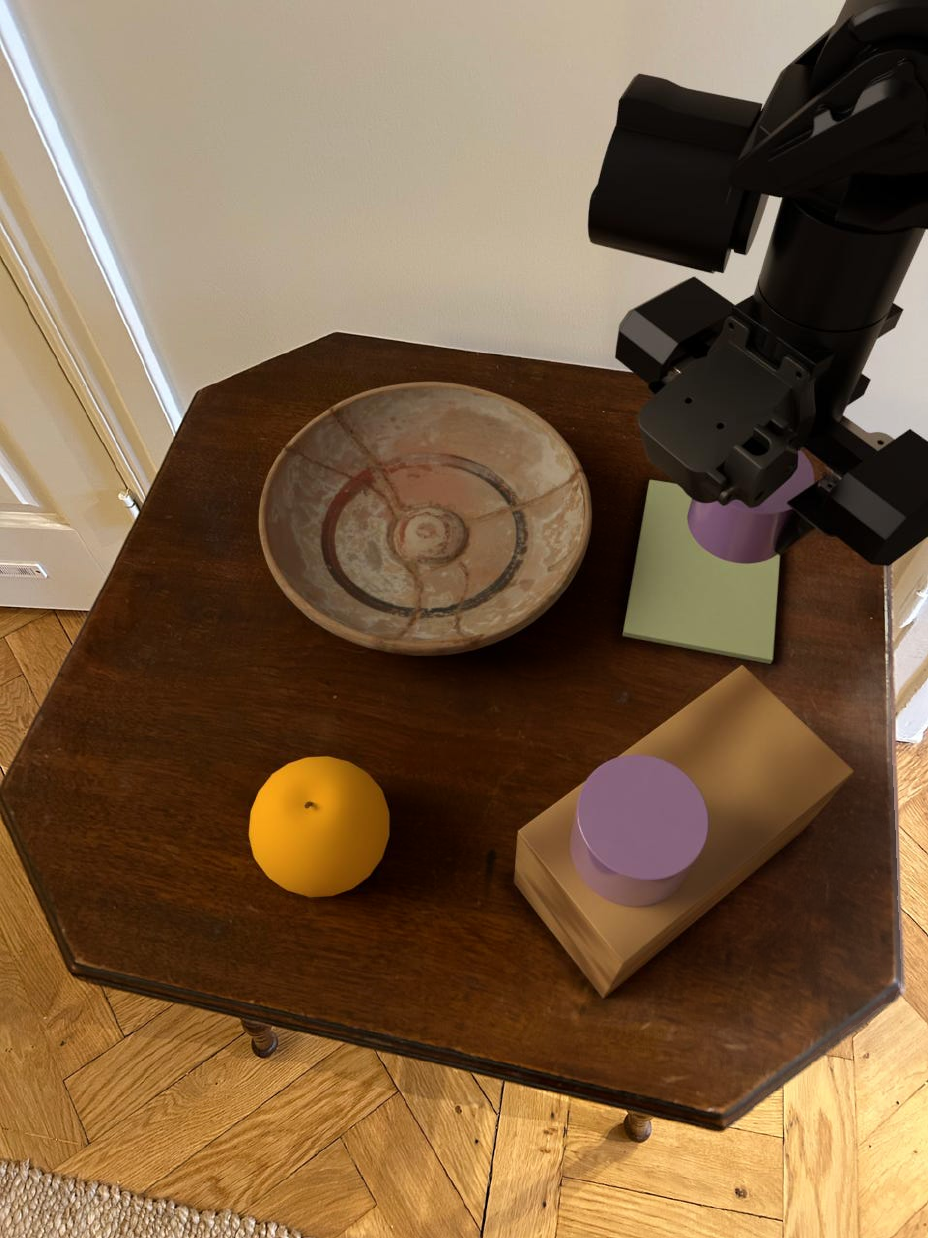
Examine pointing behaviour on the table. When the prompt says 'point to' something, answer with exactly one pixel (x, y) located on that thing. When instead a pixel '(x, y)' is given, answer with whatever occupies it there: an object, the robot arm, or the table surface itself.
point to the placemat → (697, 587)
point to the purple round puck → (747, 521)
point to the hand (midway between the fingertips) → (741, 515)
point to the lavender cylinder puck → (637, 830)
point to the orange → (319, 826)
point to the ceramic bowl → (425, 518)
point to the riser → (738, 825)
